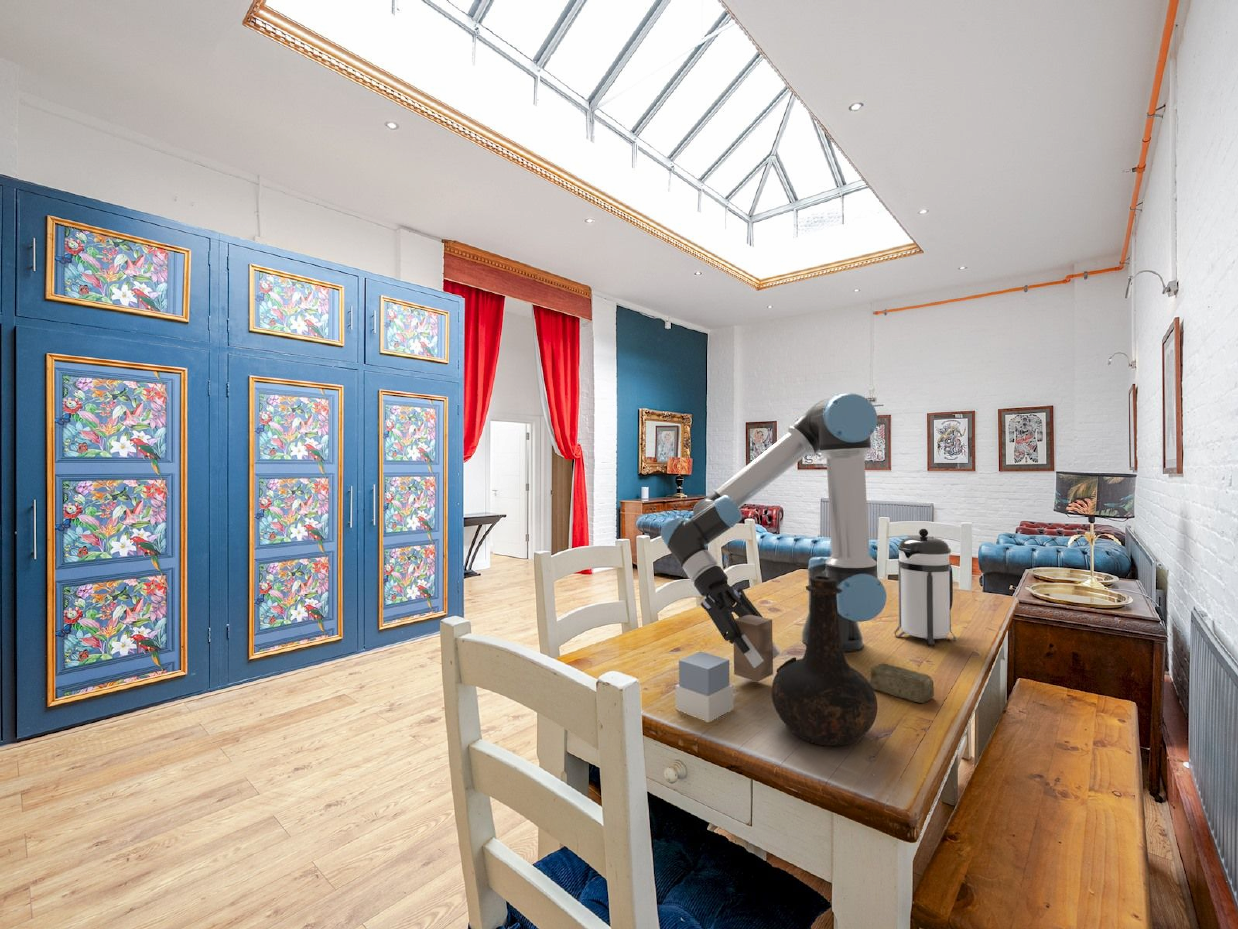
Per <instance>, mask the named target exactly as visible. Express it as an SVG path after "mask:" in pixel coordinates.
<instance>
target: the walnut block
mask: <svg viewBox="0 0 1238 929" xmlns="http://www.w3.org/2000/svg"><path fill="white" fill-rule="evenodd" d="M734 619H735V622H736V623H737V625H738V627H739V630H740V632H741V636H742V635H744V634H745V635H746V636H747V638H748V639H749V641H750V642H751V643H752V645H753V646H754V648H755V649H756V650H757V652H758V653H759V655H760V656H761V657H762V659H763V660H764V661H763V662H762V663H761V664H760V665H758V666H757V667H756V668H754V667H753V666H752V665H751V663H750V662H749V660H748V659H747V657H746V656H745V655H744V654H743V653H742V652H741V650H740V649H739V647H738V646H737V645H736V643H735V642H734V643H733V675H734V676H739V677H742V678H745V679H747V680H751V681H753V682H757V683H758V682H761V681H763V680H764V679H767V678H769V677H771V676H773V675H774V660H773V643H774V641H773V619H772V618H767V617H763V616H762V617H758V616H754V615H746V616H743V617H740V618H739V617H737V618H734Z"/></svg>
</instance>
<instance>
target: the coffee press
mask: <svg viewBox="0 0 1238 929" xmlns="http://www.w3.org/2000/svg"><path fill="white" fill-rule="evenodd" d="M918 534H919V536H915V537H914V536H913V537H906V538H903V539H902V540H901V541H900V542H899V545H897V550H898V553H899V554H898V555H899V556H898V561H897V562H898V571H897V572H898V626H897V628H896V629H895V630H894V632H893V635H895V637H896V638H901V637H903V635H905V634H906V635H909V636H912V637H915V638H920V639H925V641H926V644H927V647H935V640H938V639H944V638H947V639H948V640H950V641H951V642H954V641H956V636H955V635H954V634H953V632H952V628H951V625H952V624H951V623H952V622H951V610H952V607H953V601H954V598H953V597H954V591H953V590H954V588H953V587H954V583H953V580H954V579H953V568H952V565H951V563H950V555H951V552H952V549H951V548H950V546H949V544H948V543H947V542H946V541H945V540H942V539H939V538H934V537H927V536H928V535H929V531H928V529H927V528H921V529H919V531H918ZM899 630H901V631H902V632H901V633H900V634H898V635H897V633H898V632H899ZM949 634H951V635H952V636H953V638H950V637H948V636H949Z"/></svg>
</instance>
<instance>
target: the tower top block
mask: <svg viewBox="0 0 1238 929" xmlns="http://www.w3.org/2000/svg"><path fill="white" fill-rule="evenodd" d="M678 684H679V686H682V687H684V688H687V689H690V690H693V691H696V692H699V693H702V694H704V695H707V696H709V695H711V694H713V693H715V692H717V691H719V690H721V689H723V688H725V687H727V686H729V685H730V659H727V658H724V657H720V656H718V655H714V654H710V653H706V652H704V651H698V652H696V653H694V654H691V655H688V656H685V657H683V658H681V659H678Z"/></svg>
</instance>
